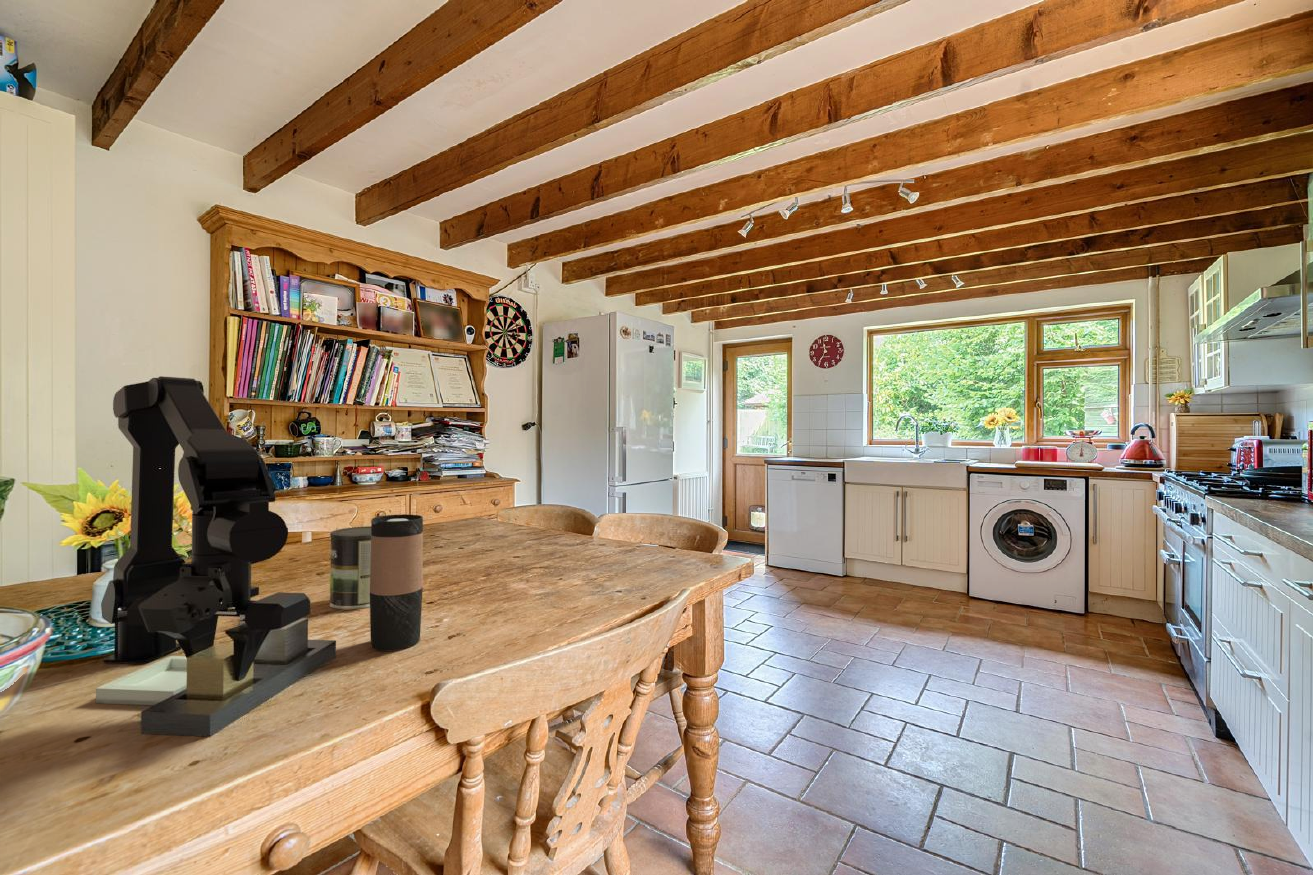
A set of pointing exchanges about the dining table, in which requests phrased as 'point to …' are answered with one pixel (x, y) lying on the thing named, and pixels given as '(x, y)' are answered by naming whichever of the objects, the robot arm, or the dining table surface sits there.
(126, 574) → the robot arm
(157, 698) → the tray
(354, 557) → the coffee can
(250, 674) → the beige wooden block
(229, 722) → the rail
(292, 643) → the grey square block
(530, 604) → the dining table surface
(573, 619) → the dining table surface
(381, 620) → the travel mug
